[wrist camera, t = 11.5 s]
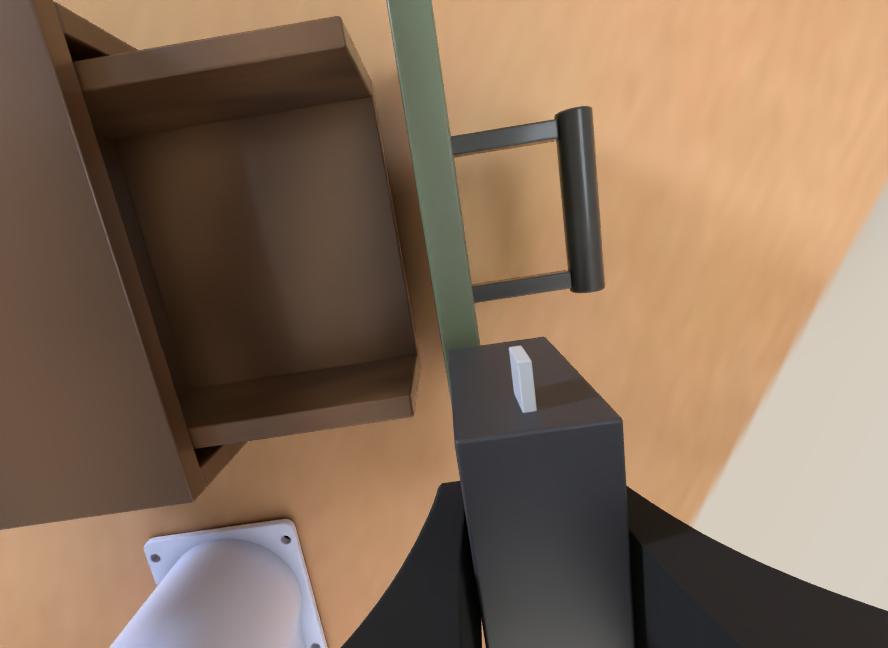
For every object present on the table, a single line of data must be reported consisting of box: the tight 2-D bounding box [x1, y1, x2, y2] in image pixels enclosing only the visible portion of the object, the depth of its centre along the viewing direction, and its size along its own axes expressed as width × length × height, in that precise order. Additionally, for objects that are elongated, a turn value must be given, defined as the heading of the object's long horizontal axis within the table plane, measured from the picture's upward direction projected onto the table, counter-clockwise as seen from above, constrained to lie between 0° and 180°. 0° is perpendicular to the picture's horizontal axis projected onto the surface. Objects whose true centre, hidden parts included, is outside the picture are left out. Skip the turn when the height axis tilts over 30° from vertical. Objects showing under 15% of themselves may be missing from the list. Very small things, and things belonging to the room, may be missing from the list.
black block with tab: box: [449, 337, 635, 648], centre depth 10 cm, size 9×3×5 cm, turn 8°
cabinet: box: [0, 0, 247, 530], centre depth 16 cm, size 15×15×8 cm
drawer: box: [73, 0, 605, 449], centre depth 16 cm, size 18×13×6 cm
